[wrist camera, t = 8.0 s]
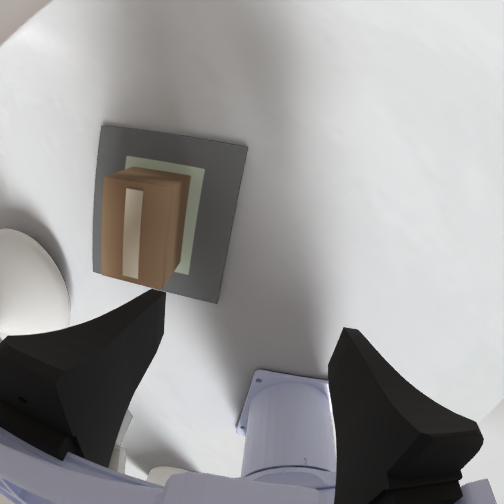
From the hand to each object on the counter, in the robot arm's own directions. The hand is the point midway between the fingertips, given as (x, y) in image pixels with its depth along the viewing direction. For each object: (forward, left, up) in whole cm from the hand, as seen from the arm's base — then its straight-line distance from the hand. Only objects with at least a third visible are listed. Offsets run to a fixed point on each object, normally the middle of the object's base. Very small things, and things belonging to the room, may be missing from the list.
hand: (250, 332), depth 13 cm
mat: (+1, +7, -10) cm, 12 cm away
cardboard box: (+1, +7, -9) cm, 12 cm away
